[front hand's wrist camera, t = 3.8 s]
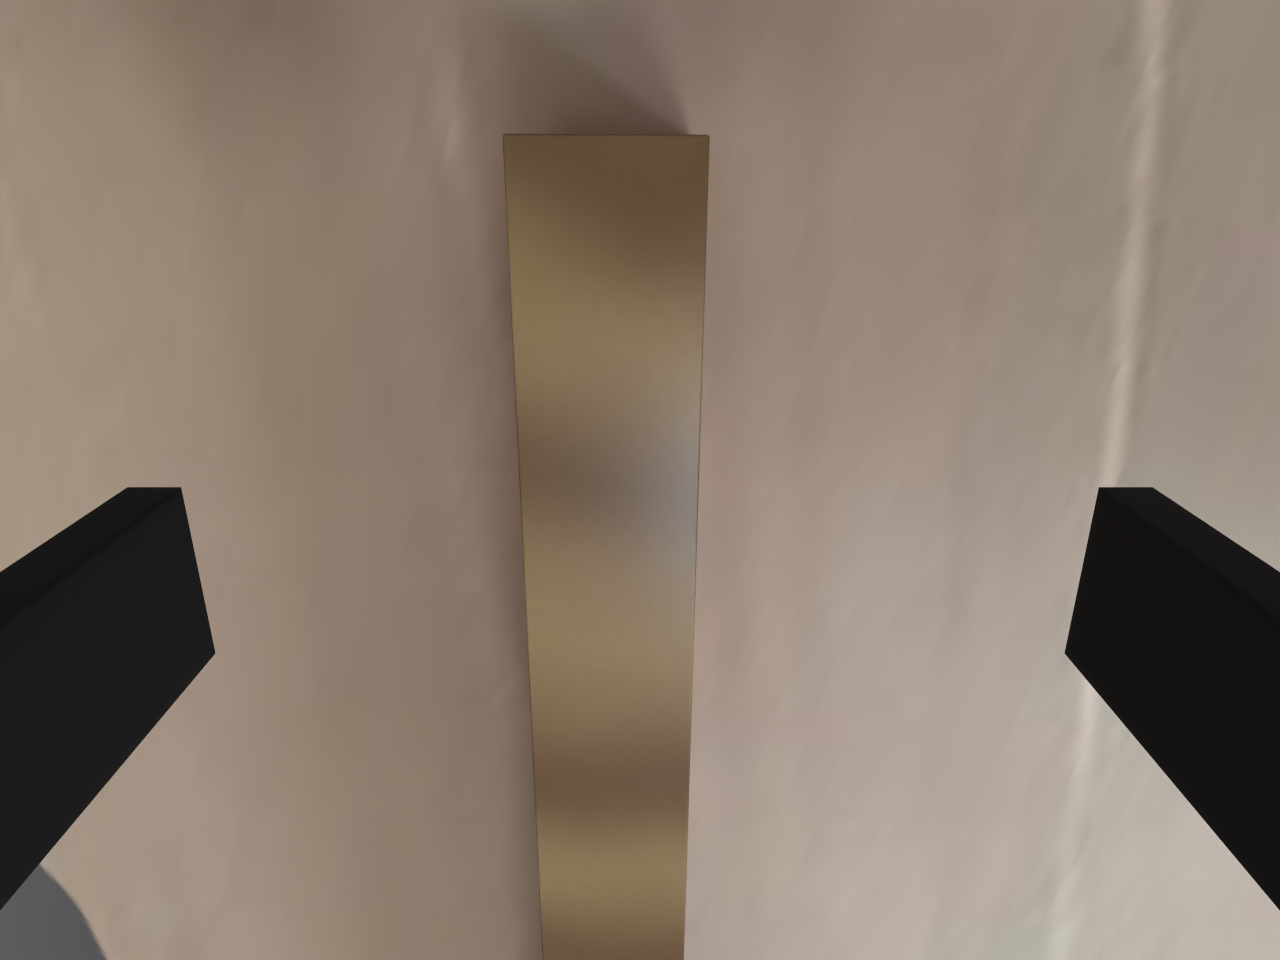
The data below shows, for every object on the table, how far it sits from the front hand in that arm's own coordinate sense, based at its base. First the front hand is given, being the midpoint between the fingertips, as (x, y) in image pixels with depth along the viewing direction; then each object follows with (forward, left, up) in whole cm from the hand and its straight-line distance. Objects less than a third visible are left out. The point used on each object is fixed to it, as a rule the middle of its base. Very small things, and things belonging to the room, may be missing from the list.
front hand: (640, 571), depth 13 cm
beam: (+29, +5, -17) cm, 34 cm away
